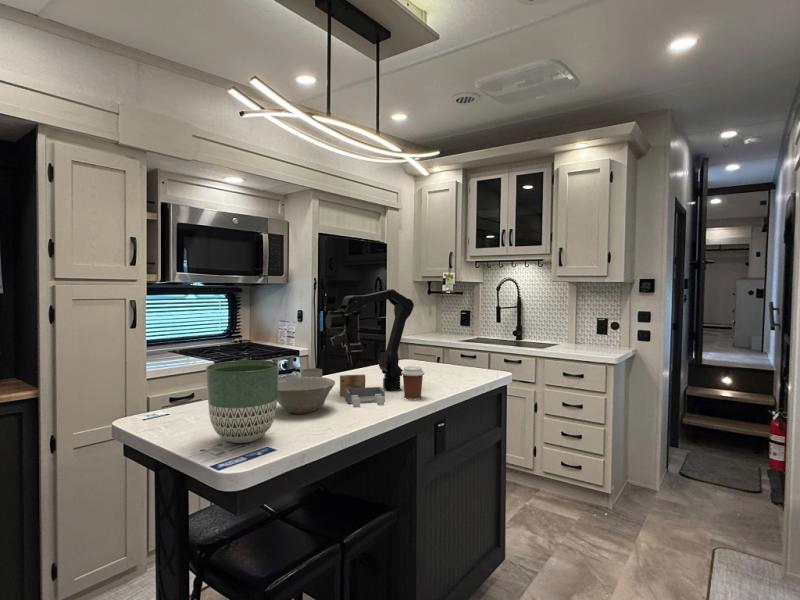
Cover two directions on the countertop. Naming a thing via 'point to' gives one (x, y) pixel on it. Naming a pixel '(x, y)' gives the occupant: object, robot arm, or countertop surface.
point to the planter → (242, 398)
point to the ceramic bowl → (303, 393)
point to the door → (351, 382)
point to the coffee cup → (412, 382)
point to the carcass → (365, 396)
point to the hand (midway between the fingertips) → (352, 365)
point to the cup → (311, 372)
